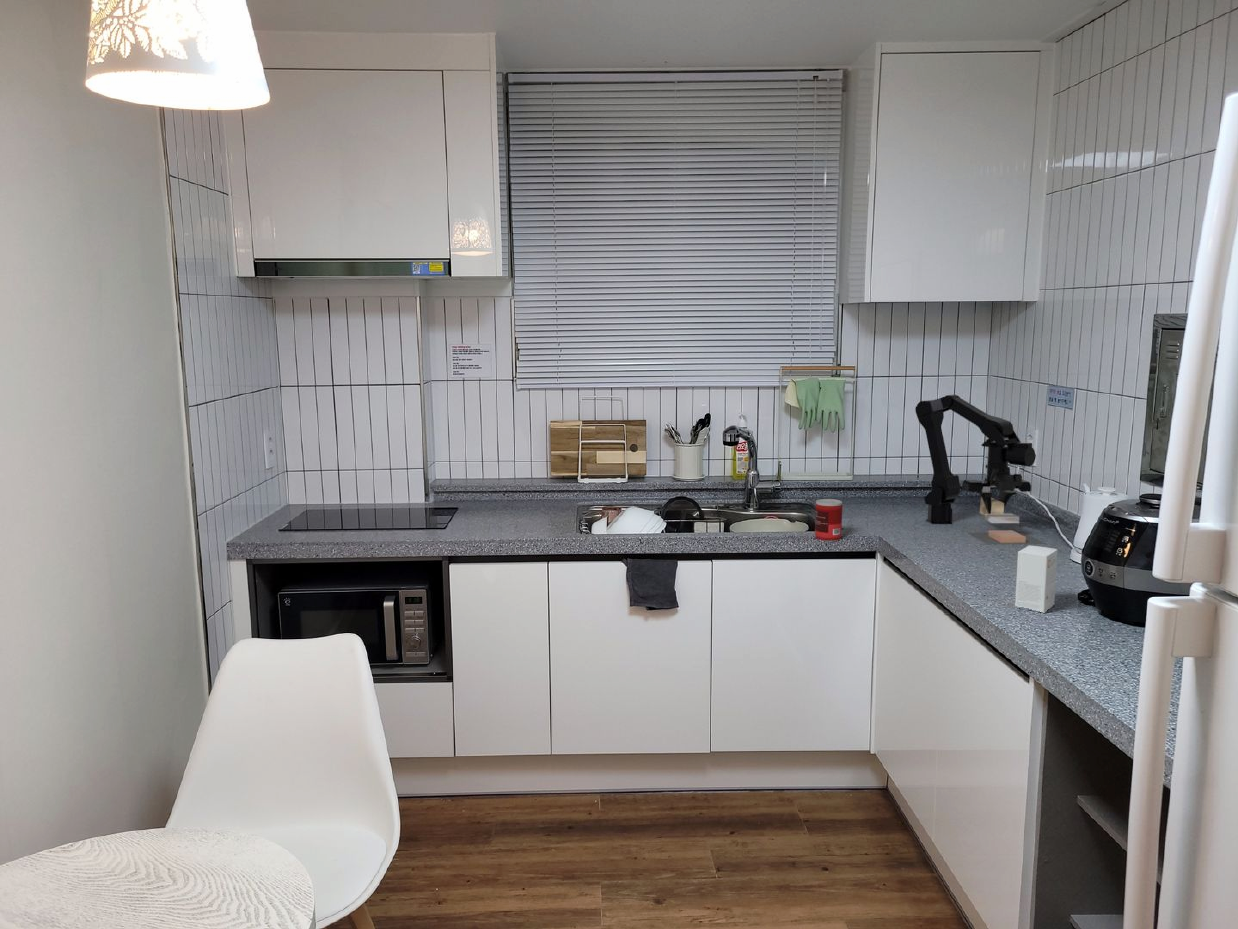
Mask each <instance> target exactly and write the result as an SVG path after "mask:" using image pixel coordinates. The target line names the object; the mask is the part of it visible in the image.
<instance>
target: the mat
mask: <svg viewBox="0 0 1238 929" xmlns="http://www.w3.org/2000/svg"><path fill="white" fill-rule="evenodd" d="M1018 533H1019V534H1021V535H1023V536H1025V537H1026V543H1000V542H999V541H997V540H995V539H993V538H991V537H989V536H988V534H989V532H967V534H969V535H970V536H971V537H974V538H976V539H977V540H979V541H980V542H982V543H984V544H986V545H988V546H989V545H990V546H992V545H997V546H998V545H1002V546H1003V545H1047V543H1046V542H1044V541H1042V540H1040V539H1037V538H1036V537H1034V536H1031V535H1030V534H1027V533H1025V532H1024V531H1023V532H1022V531H1021V532H1018Z"/></svg>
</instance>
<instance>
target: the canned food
mask: <svg viewBox="0 0 1238 929" xmlns="http://www.w3.org/2000/svg"><path fill="white" fill-rule="evenodd" d="M814 516H815V517H814V518H815V519H814V526H815V527H814V536H815V538H816V539H818V540H820V541H839V540H840V539H841V537H842V532H843V530H842V529H843V528H842V527H843V526H842V525H843V524H842V523H843V501H842V500H839V499H835V498H834V499H833V498H822V499H817V500H815V515H814Z"/></svg>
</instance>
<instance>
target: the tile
mask: <svg viewBox="0 0 1238 929" xmlns="http://www.w3.org/2000/svg"><path fill="white" fill-rule="evenodd" d="M988 533H989V534H988V536H989V537H991V538H993V539H995V540H997V541H999V542H1000V543H1026V537H1025V536H1023V535H1021V534H1019V533H1020V532H1018V531H1014V530H1010V529H1007V530H1006V529H1005V530H1004V529H1003V530H988Z"/></svg>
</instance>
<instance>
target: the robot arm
mask: <svg viewBox="0 0 1238 929" xmlns="http://www.w3.org/2000/svg"><path fill="white" fill-rule="evenodd" d="M914 410H915V414H916V417H917V420H918V422H919V423H920V425H921V426H922V428H923V429H924V431H925V435H926V441H927V445H928V451H929V456H930V461H931V466H932V471H933V476H932V480H931V482H930V483H931V491H929V492H928V493H927V494H926V495H925V496H924V497H923V498H924V503H925V504H926V505H928V506H927V507H928V508H927V518H925V521H926V522H927V523H930V524H931V525H953V511H954V510H953V508H952V504H954V503H955V502H956V499H957V498H958V496H959V495H960V493H961V489H962V490H964V491H965V492H969V493H978V494H980V498H981V497H982V499H983V501H984V504H985V507H986V509H987V512H988V514H991V498H993V497H992V496H993V495H994V493H993V492H992V491H991V490H993V489H994V490H995V489H996V490H997V491H999V493H998V501H1000V502H1003V503H1004V509H1005V508H1006V506H1007V503H1008V502H1009V500H1010V498H1011V497H1012V496H1014V495H1017V492H1016V491H1015V490H1016V489H1017V490H1019V491H1020V492H1021V493H1023V492H1024V493H1025V492H1028V493H1029V492H1032V484H1031V482H1030V481H1027V480H1024V479H1023V475H1022V474H1020V473H1014V474H1012V473H1011V468H1010V467H1009V465H1013V466H1021V467H1032V466H1033V465H1034V463H1035V462H1036V457H1037V454H1036V451H1035V449H1034V448H1033V444H1032V442H1021V440H1020V438H1019V437H1018V435H1017V433H1016V432H1015V430H1014V427H1013V424H1012V422H1011V421H1010V420H1007V419H1004V418H1002V417H997V416H993V415H990V414H988V413H986V412H985V411H983V410H981V409H979V408H978V407H976V406H974V405H972V404H971V403H970V402H968V401H966V400H964V399H963V398H961V397H960V396H959V395H957V394H949V395H948V394H947V395H944V396H942V397H939V398H936V399H931V400H928V399H927V400H921V401H919V402H918V403H917V405H916V406H915V408H914ZM948 411H952V412H954V413H955V414H957V415H959V416H960V417H962V418H964V419H965V420H967V421H968V422H970V423H972V424H974V425H975V426H976V427H977V428H979V429H980V431H981V433H982V434H983V435H984V436H985V437H986V438H987V439H985V441H983V442H982V444H981V446H982V447H986V448H987V464H985V469H986V477H984V482H982V481H979V480H977V479H964V480H963V481H962V483H961V484H960V477H959V475H958V474H955V475H954V474H953V473H952V471H951V469H950V463H949V459H948V454H947V450H946V448H947V447H946V444H945V439H944V434H943V430H942V424H943V421H944V417H945V416H944V412H948Z"/></svg>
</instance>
